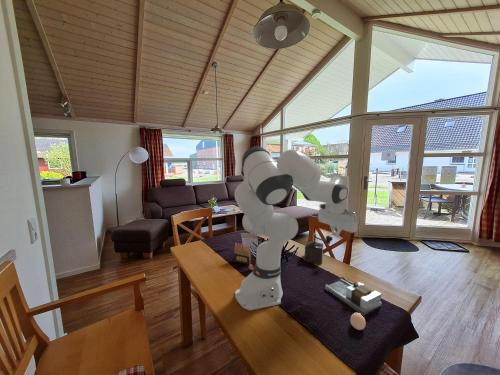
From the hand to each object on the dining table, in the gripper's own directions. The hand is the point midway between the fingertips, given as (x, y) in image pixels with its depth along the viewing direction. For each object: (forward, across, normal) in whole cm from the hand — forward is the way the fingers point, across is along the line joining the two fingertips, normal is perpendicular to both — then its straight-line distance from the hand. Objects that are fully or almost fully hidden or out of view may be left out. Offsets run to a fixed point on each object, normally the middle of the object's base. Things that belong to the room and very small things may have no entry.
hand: (335, 235), depth 102 cm
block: (+25, -16, 0) cm, 29 cm away
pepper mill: (+26, +22, -13) cm, 37 cm away
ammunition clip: (+26, +41, +30) cm, 57 cm away
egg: (+27, -23, +13) cm, 38 cm away
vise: (+26, -11, 0) cm, 28 cm away
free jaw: (+24, -12, 0) cm, 27 cm away
